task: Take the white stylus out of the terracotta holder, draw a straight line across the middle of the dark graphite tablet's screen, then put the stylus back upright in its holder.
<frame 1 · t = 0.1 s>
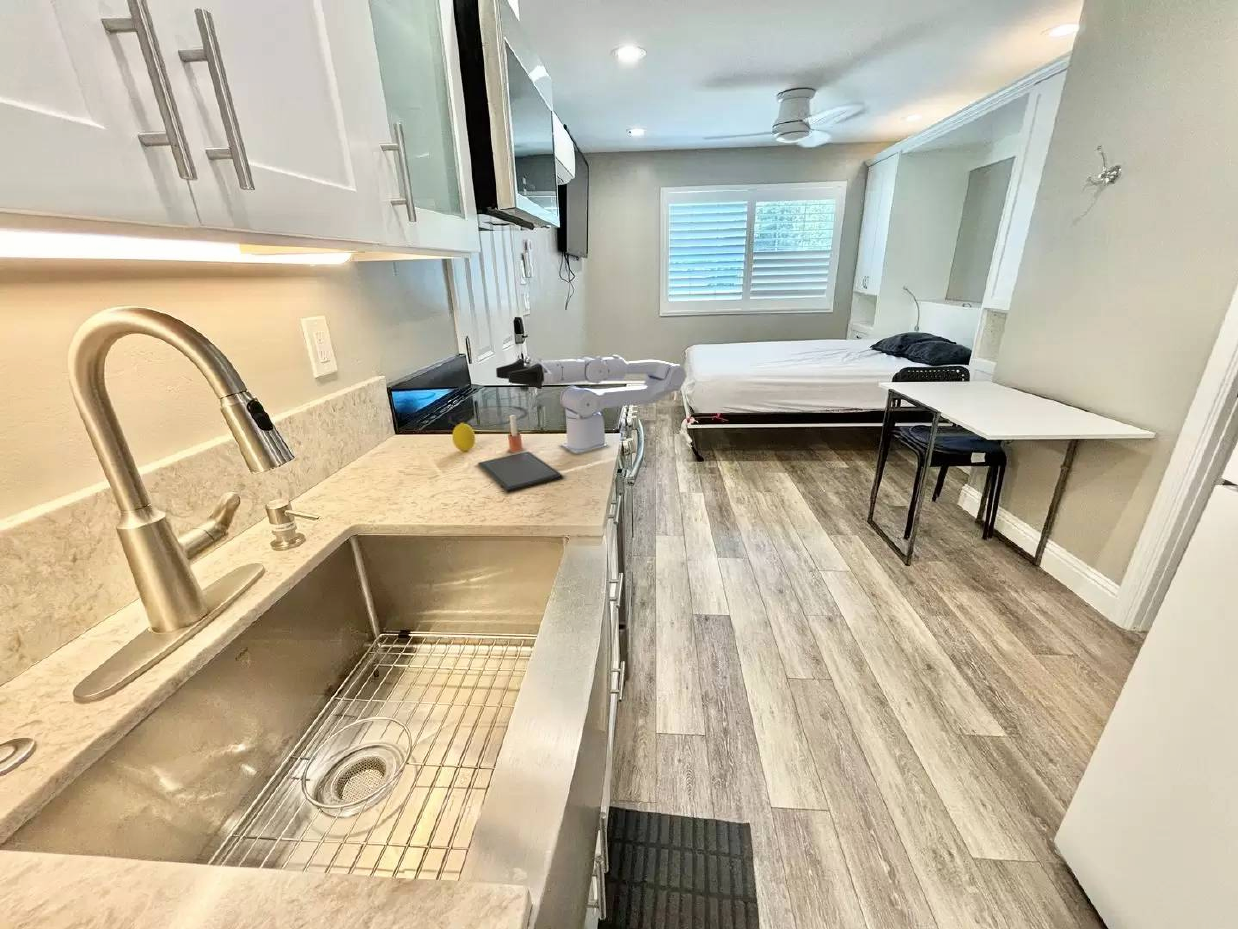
hand: (502, 375, 111), 22 cm above the worktop, tool horizontal, fingers open, 7 cm apart
lemon: (466, 452, 128), on the worktop
stylus: (516, 449, 127), resting on holder
holder: (516, 450, 127), on the worktop
tablet: (519, 472, 114), on the worktop
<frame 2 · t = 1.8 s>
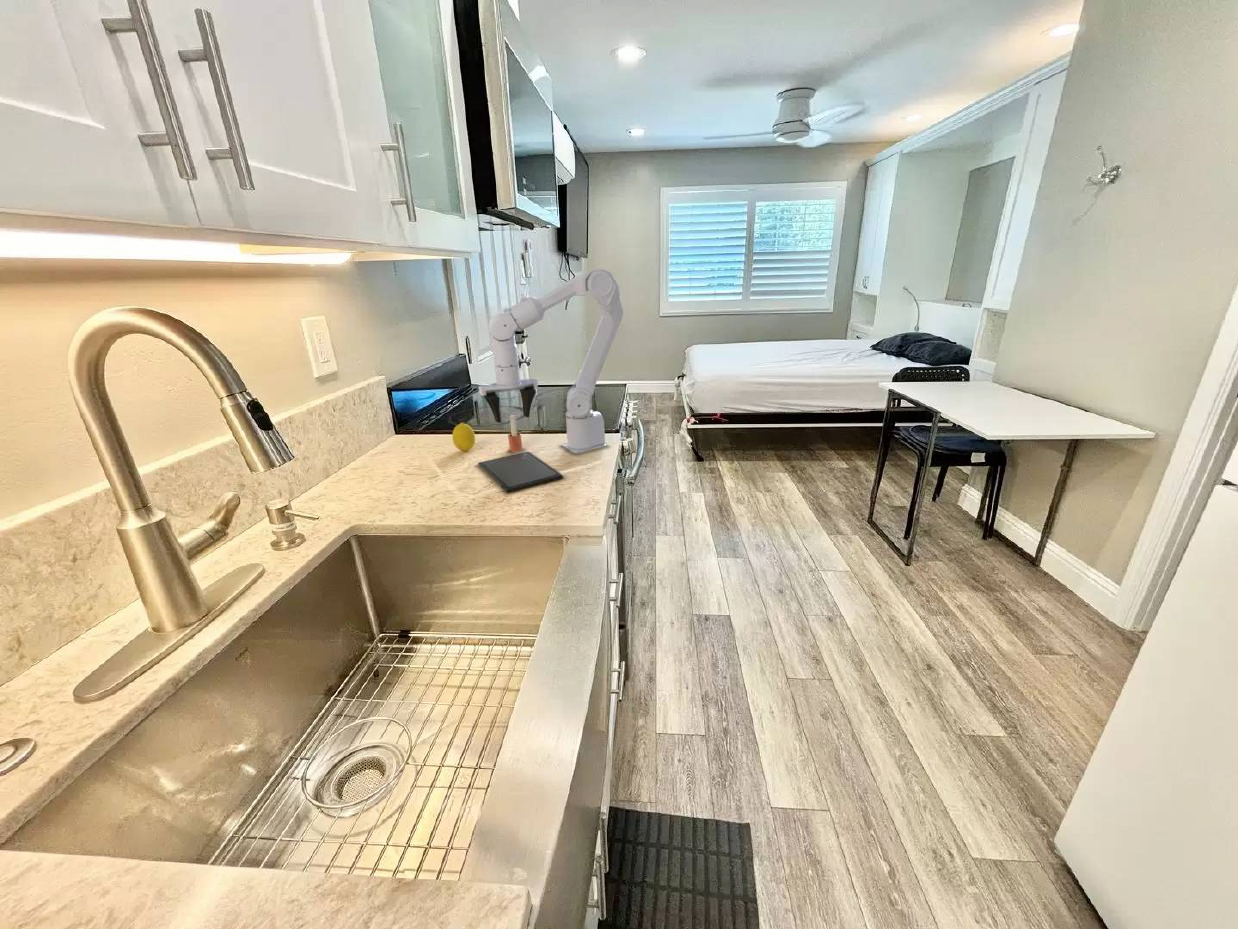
hand: (512, 418, 124), 9 cm above the worktop, tool pointing down, fingers open, 7 cm apart
nothing on the worktop moved.
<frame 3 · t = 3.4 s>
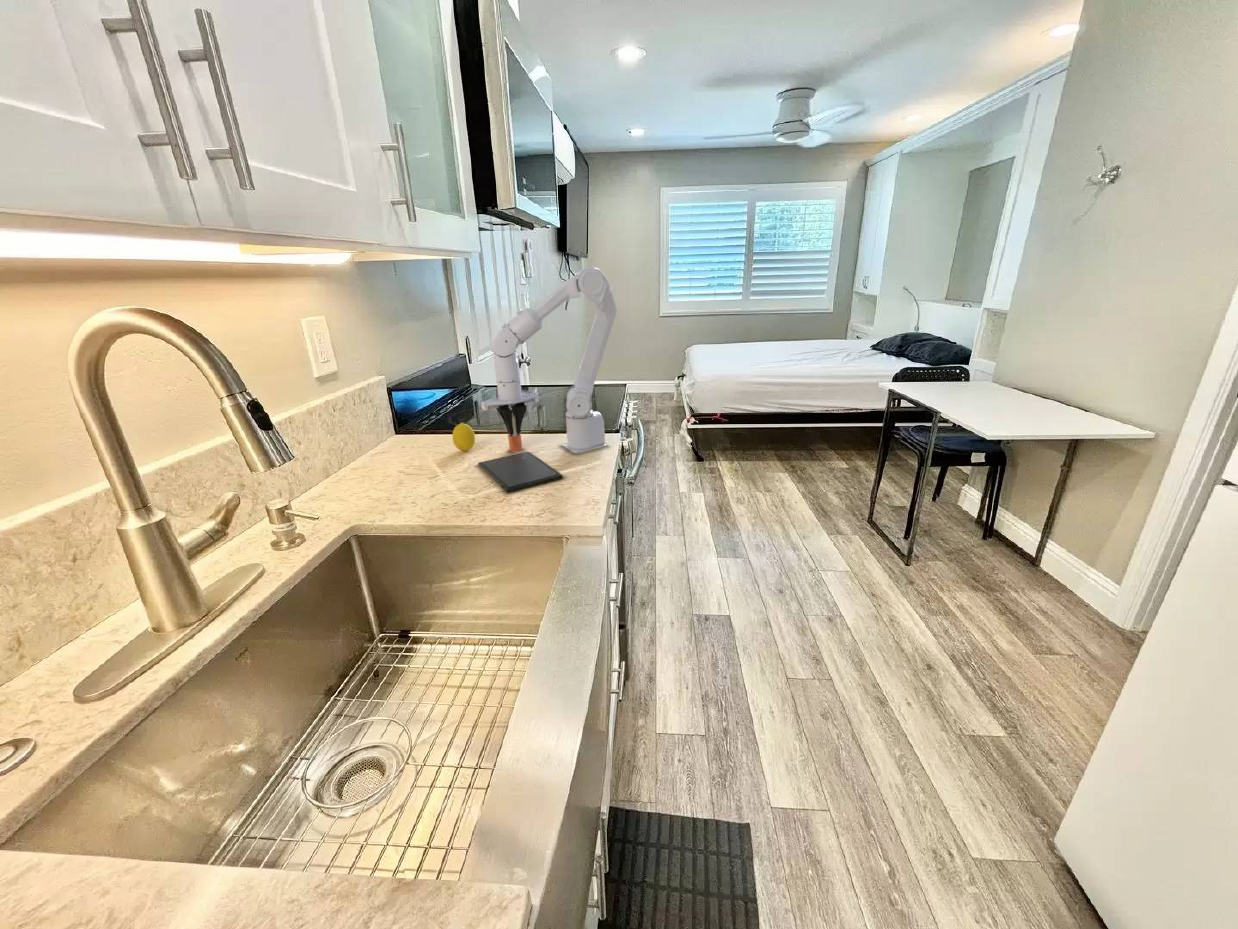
hand: (514, 432, 126), 5 cm above the worktop, tool pointing down, fingers closed on stylus, 1 cm apart
stylus: (516, 449, 127), point 1 cm above the worktop, touching gripper, holder
everything else where it was.
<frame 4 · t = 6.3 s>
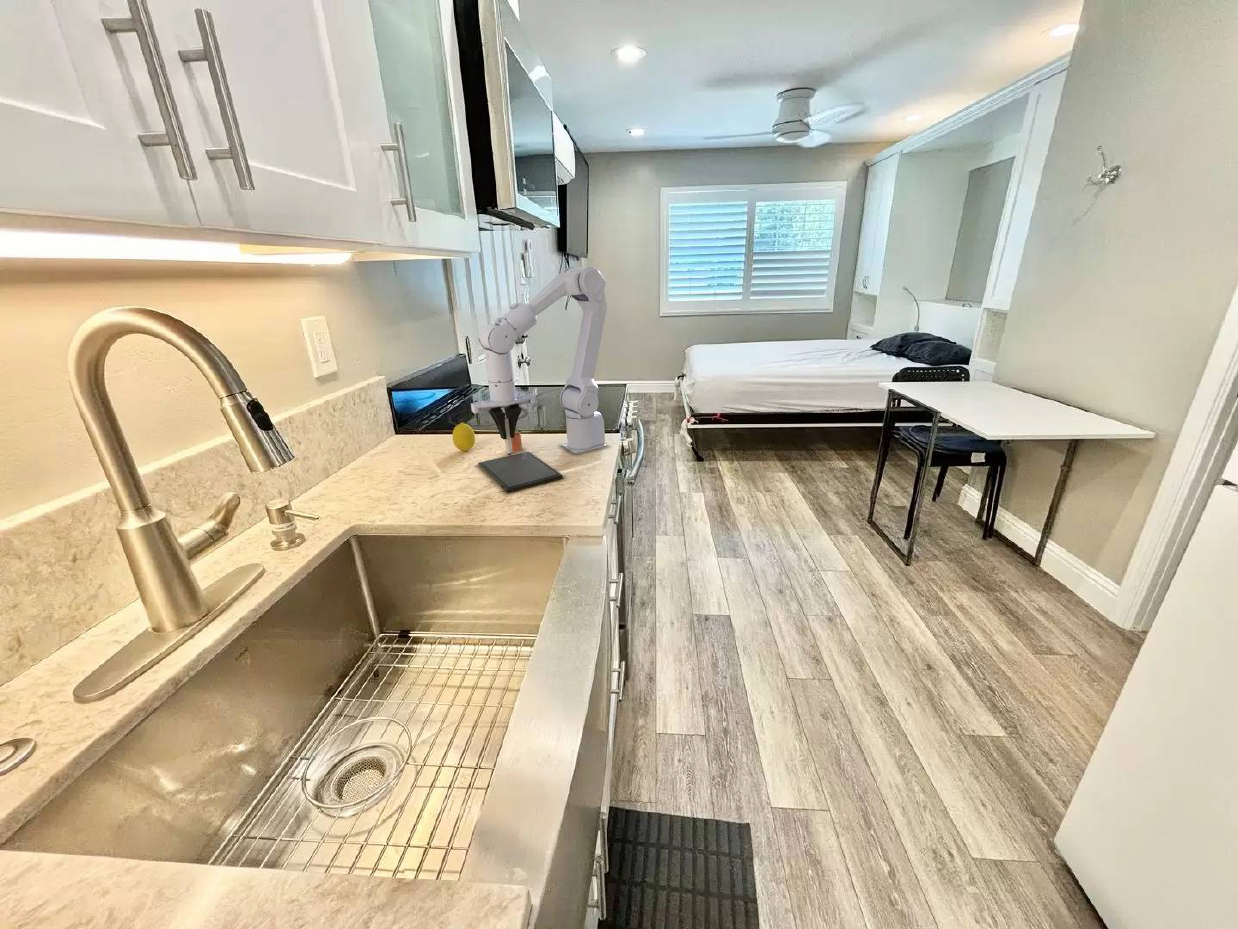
hand: (507, 437, 115), 7 cm above the worktop, tool pointing down, fingers closed on stylus, 1 cm apart
stylus: (509, 454, 117), point 3 cm above the worktop, touching gripper
everything else where it was.
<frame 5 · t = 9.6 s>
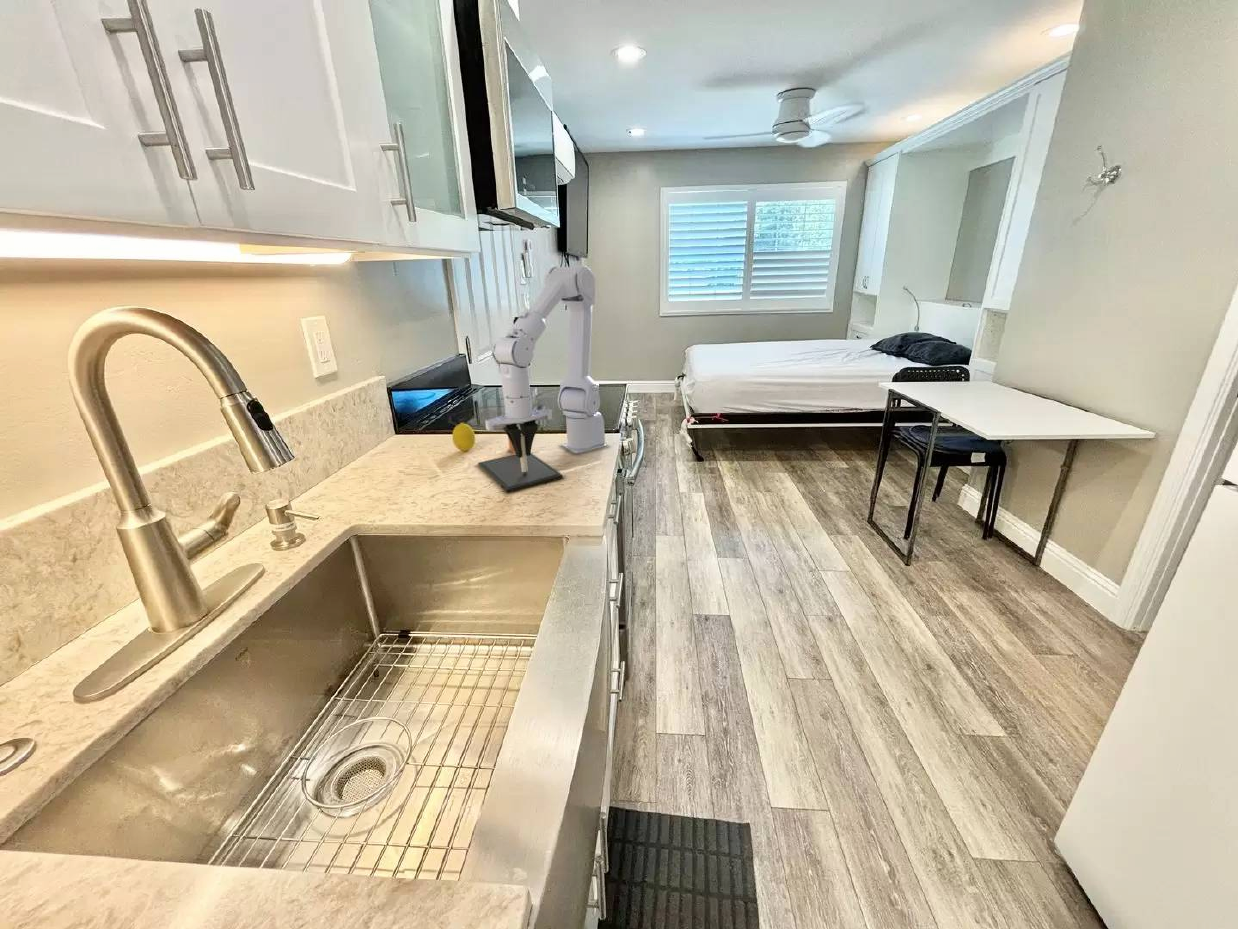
hand: (523, 455, 109), 5 cm above the worktop, tool pointing down, fingers closed on stylus, 1 cm apart
stylus: (525, 473, 111), point 1 cm above the worktop, touching gripper, tablet
everything else where it was.
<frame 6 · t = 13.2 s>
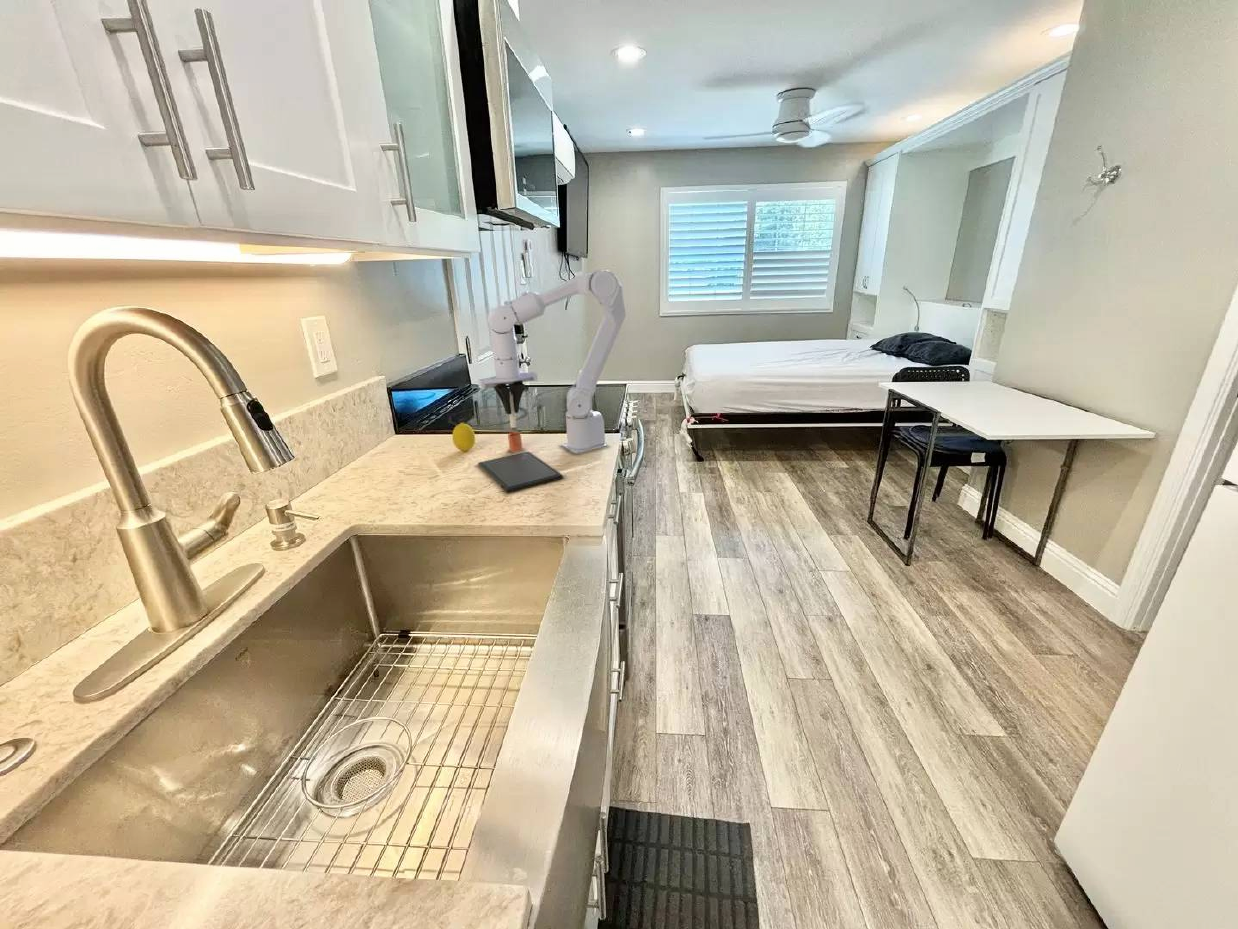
hand: (512, 412, 123), 10 cm above the worktop, tool pointing down, fingers closed on stylus
stylus: (513, 429, 125), point 6 cm above the worktop, touching gripper
everything else where it was.
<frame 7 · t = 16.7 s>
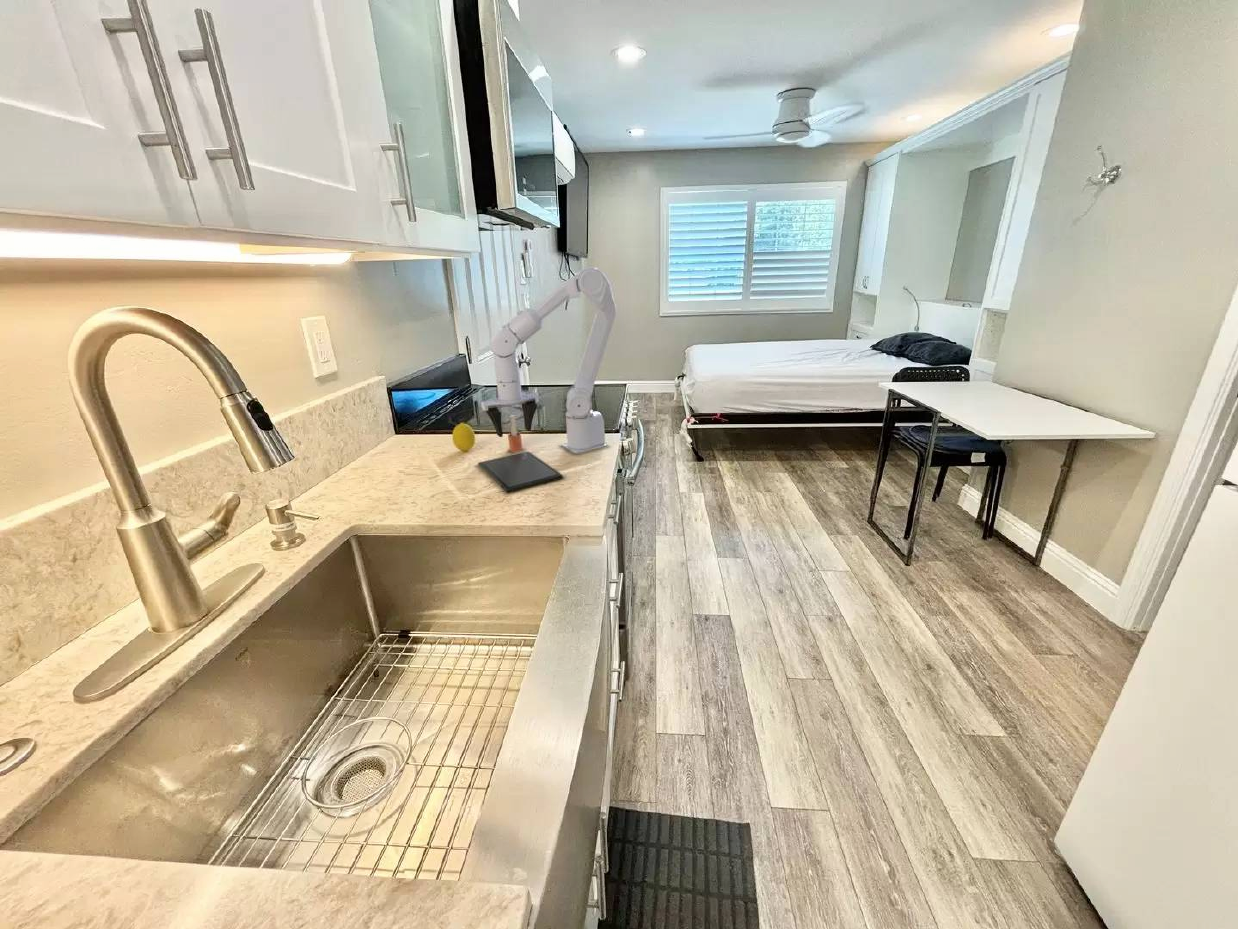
hand: (514, 433, 126), 5 cm above the worktop, tool pointing down, fingers open, 7 cm apart
stylus: (515, 449, 127), resting on holder
everything else where it was.
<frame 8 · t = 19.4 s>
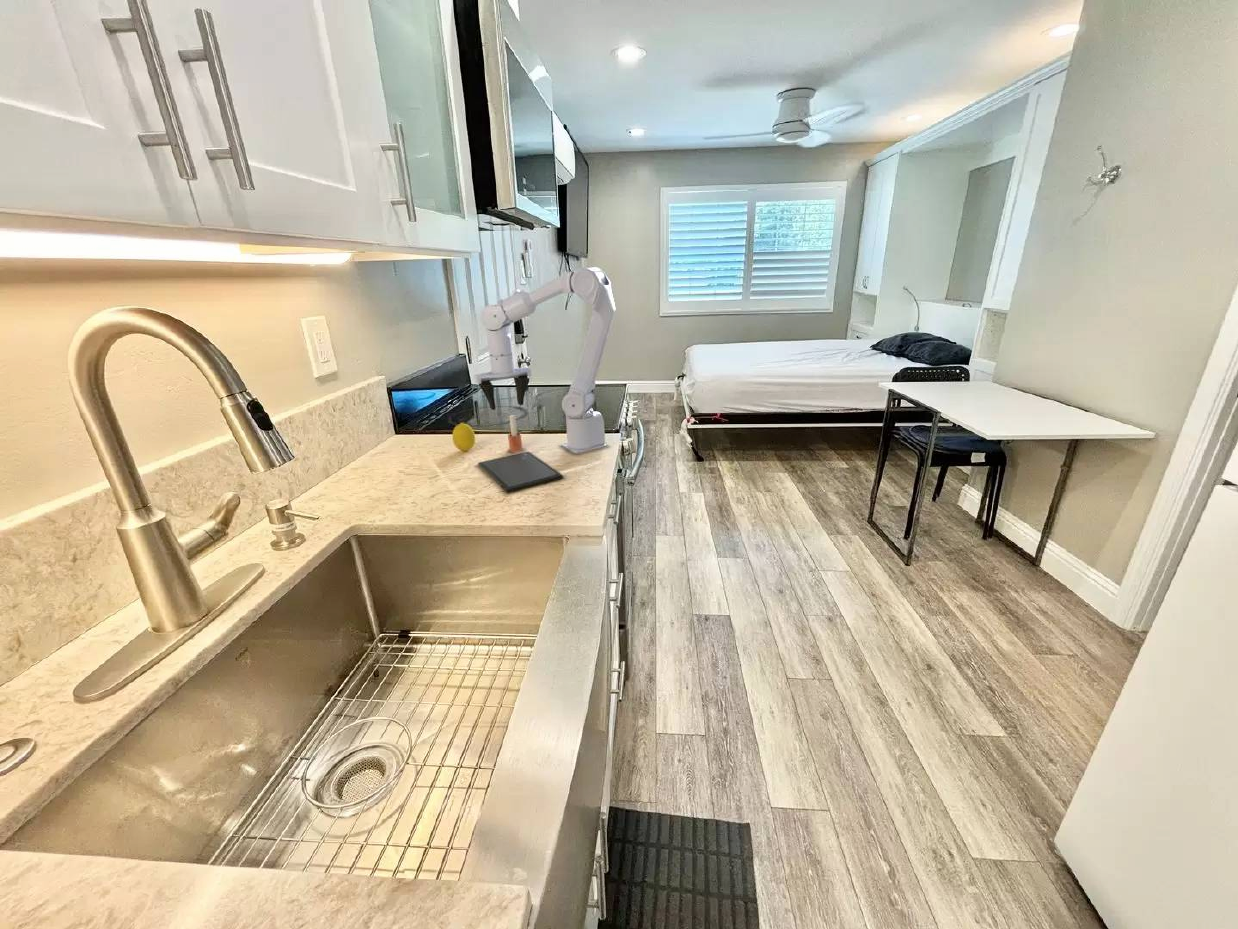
hand: (507, 406, 129), 10 cm above the worktop, tool pointing down, fingers open, 7 cm apart
nothing on the worktop moved.
at the end: stylus 0.1 cm off-centre in the holder, point 0.5 cm above the holder's base; stylus tilted 0°; the gripper is holding nothing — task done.
